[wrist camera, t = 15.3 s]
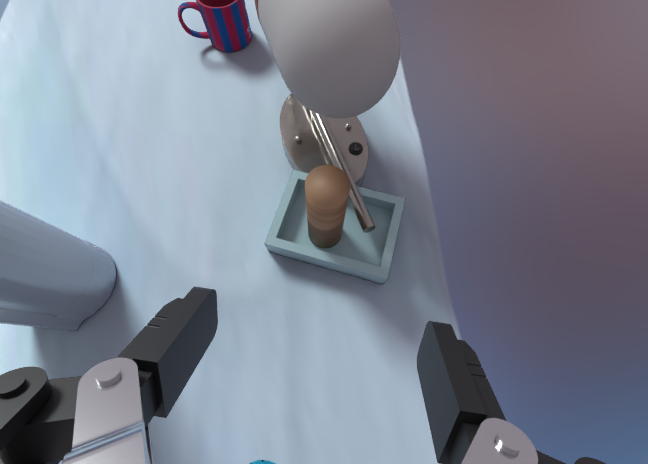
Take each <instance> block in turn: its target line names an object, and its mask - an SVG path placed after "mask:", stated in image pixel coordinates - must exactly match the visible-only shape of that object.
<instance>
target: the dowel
mask: <svg viewBox="0 0 648 464" xmlns="http://www.w3.org/2000/svg"><path fill="white" fill-rule="evenodd" d="M350 186H351V184H350V179H349V177H348V175H347V174H346V173H345V172H344V171H343V170H342V169H340V168H339V167H336V166H333V165H322V166H318V167H316V168H314V169H313V170H311V171H310V172H309V174H308V175H307V177H306V179H305V196H306V209H307V223H308V235H309V239H310V240H311V242H312V243H313V244H314V245H315V246H317V247H320V248H331V247H333V246H335V245H336V244H337V243H338V242H339V241H340V239H341V235H342V230H343V225H344V219H345V214H346V209H347V203H348V198H349V192H350Z"/></svg>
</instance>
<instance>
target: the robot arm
mask: <svg viewBox="0 0 648 464" xmlns="http://www.w3.org/2000/svg"><path fill="white" fill-rule="evenodd" d="M115 281H116V267H115V264H114V262H113V259H112V258H111V257H110V255H109V254H108V253H107V252H105V251H104V250H102V249H100V248H98V247H96V246H95V245H93V244H91V243H89V242H87V241H84V240H82V239H80V238H78V237H76V236H73V235H71V234H69V233H67V232H65V231H63V230H61V229H59V228H57V227H55V226H53V225H50V224H48V223H46V222H44V221H42V220H40V219H38V218H36V217H34V216H32V215H30V214H27V213H25V212H23V211H21V210H19V209H17V208H15V207H13V206H11V205H9V204H6V203H4V202H2V201H0V323H2V324H12V325H22V326H32V327H42V328H52V329H62V330H73V331H76V330H77V329H78V327H79V326H80V324H81V323H82V321H84V320H85V319H86V318H88V317H90V316H91V315H93V314H94V313H95V312H97V311H98V310H99V309H100V308H101V307H102V306H103V305H104V303H105V302H106V301H107V300H108V298H109V296H110V295H111V293H112V291H113V288H114V285H115ZM217 324H218V317H217V295H216V291H215V290H214V289H207V288H201V287H193V288H192V289H191V291H190V292H189V293H188V294H187V295H186V296H185V298H184V299H181V298H177V299H175V300H173V301H172V302H170V303H168V304H166V305H165V306H164V307H163V308H162V309H161V310H160V311H159V312H158V313H157V314H156V315H155V318H153V319H152V320H151V321H150V322H149V323H148V325H147V326H145V327H144V329H143V330H142V331H141V332H140V333H139V334H138V335H137V336H136V337H135V338H134V339H133V341H132V342H131V343H130V344H129V345H128V346H127V347H126V348H125V349H124V350H123V351H122V353H121V354H120V355H119V356H118V357H117V358H113V359H109V360H106V361H103V362H101V363H99V364H97V365H95V366H94V367H92V368H91V369H89V370H88V371H87V372H86V373H85V374H84V375H83V376H78V377H69V378H60V379H52V380H49V379H48V377H47V374H46V372H45V371H44V370H43V369H41V368H39V367H24V368H19V369H15V370H12V371H9V372H7V373H5V374H2V375H0V464H58V463H59V462H60V461H61V460H63V464H153V456H152V447H151V438H150V429H149V422H150V421H151V419H152V417H153V416H158V417H164V418H166V417H167V416H168V414H169V412H170V411H171V409H172V407H173V406H174V404H175V402H176V401H177V399H178V397H179V395H180V394H181V392H182V390H183V389H184V387H185V385H186V384H187V382H188V380H189V379H190V377H191V375H192V373H193V372H194V370H195V368H196V367H197V365H198V363H199V362H200V360H201V358H202V357H203V355H204V353H205V352H206V350H207V348H208V346H209V345H210V343H211V341H212V340H213V338H214V336H215V333H216V330H217ZM417 369H418V374H419V379H420V384H421V388H422V393H423V397H424V402H425V407H426V411H427V416H428V421H429V425H430V430H431V435H432V439H433V444H434V448H435V453H436V458H437V462H438V463H440V464H565V463H563V462H561V461H559V460H556V459H554V458H552V457H550V456H548V455H545V454H543V453H541V452H539V451H537V450H535V447H534V446H533V444H532V442H531V441H530V440H529V438H528V437H527V436H526V435H525V434H524V433H523V432H522V431H521V430H519V429H518V428H517V427H515V426H514V425H512V424H511V423H509V422H507V421H506V419H505V417H504V415H503V412H502V410H501V408H500V406H499V404H498V401H497V399H496V397H495V395H494V393H493V390H492V388H491V386H490V384H489V382H488V379H486V375H485V373H484V371H483V368H481V364H480V362H479V360H478V357H477V355H476V353H475V352H474V351H473V350H472V348H471V347H470V346H469V345H468V344H467V343H466V342H465V341H462V340H457V338H456V335H455V333H454V331H453V328H452V326H451V325H450V324H445V323H439V322H432V321H429V322H428V323H427V325H426V328H425V331H424V334H423V338H422V341H421V344H420V347H419V351H418V355H417ZM574 464H605V463H603V462H601V461H599V460H596V459H593V458H588V457H583V458H579V459H578V460H577V461H576V462H575V463H574Z"/></svg>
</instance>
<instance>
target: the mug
mask: <svg viewBox="0 0 648 464" xmlns="http://www.w3.org/2000/svg"><path fill="white" fill-rule="evenodd" d="M196 1H197V2H185V3H182V4H181V5H180V6H179V8H178V18H179V21H180V23H181V25H182V27H183V28H184V30H185V31H186V32H187V33H188V34H190V35H192V36H194V37H197V38H204V39H210V40H211V43H212V45H213V46H214V47H215V48H217V49H218V50H221V51H224V52H235V51H239V50H241V49H243V48H245V47H246V46H247V45H248V44H249V43H250V41H251V39H252V33H251V28H250V24H249V19H248V15H247V10H246V6H245V1H244V0H196ZM187 8H193V9H196V10H198V11H199V12H200V13H201V15H202V18H203V21H204V24H205V26H206V29H207V32H196V31H193V30H191V29H189V28H188V27H187V26H186V25H185V23H184V22H183V19H182V12H183V10H184V9H187Z"/></svg>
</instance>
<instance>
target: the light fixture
mask: <svg viewBox="0 0 648 464" xmlns="http://www.w3.org/2000/svg"><path fill="white" fill-rule="evenodd" d="M255 5H256V10H257V15H258V19H259V21H260V24H261V27H262V29H263V32H264V34H265V36H266V39H267V41H268V44H269V46H270V49H271V51H272V53H273V56H274V58H275V61H276V63H277V65H278V68H279V70H280V73H281V75H282V77H283V79H284V81H285V83H286V85H287V87H288V89H289V90H290V91H291V93H292V94H291V95H290V96H289V97H288V98H287V99H286V101H285V102H284V104H283V107H282V110H281V114H280V130H281V137H282V143H283V148H284V151H285V154H286V157H287V159H288V161H289V163H290V165H291V167H292V168H293V170H297V171H300V172H304V173H308V174H309V172H310V171H311V170H313V169H314V168H316V167H318V166H322V165H333V166H336V167H339V168H340V169H342V170H343V171H344V172H345V173H346V174H347V175H348V177H349V179H350V184H351V186H350V192H349V198H348V199H349V201H350V203H351V205H352V208H353V210H354V212H355V215H356V217H357V219H358V221H359V224H360V226H361V228H362V230H363V232H364V233H368V232H370V231H372V230H374V229H375V224H374V222H373V220H372V218H371V216H370V214H369V211H368V209H367V207H366V205H365V203H364V200H363V198H362V196H361V194H360V192H359V190H358V187H357V186H360V184H361V183H362V181H363V178H364V175H365V171H366V167H367V162H368V143H367V139H366V136H365V133H364V130H363V127H362V125H361V123H360V121H359V120H358V118H357V115H359V114H361V113H364V112H366V111H367V110H369V109H370V108H371V107H373V106H374V105H375V104H376V103H378V102H379V101H380V100H381V99H382V97H383V96H384V95H385V93H386V92H387V91H388V89H389V88H390V86H391V84H392V82H393V80H394V77H395V75H396V71H397V68H398V64H399V59H400V45H401V44H400V31H399V27H398V23H397V19H396V16H395V14H394V11H393V9H392V7H391V4H390V2H389V1H388V0H255Z"/></svg>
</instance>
